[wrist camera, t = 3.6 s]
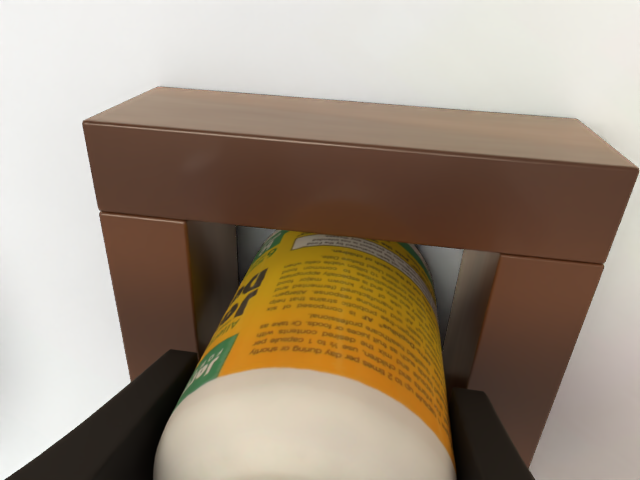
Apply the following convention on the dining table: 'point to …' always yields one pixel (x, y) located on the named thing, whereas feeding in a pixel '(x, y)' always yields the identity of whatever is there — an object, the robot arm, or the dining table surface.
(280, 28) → the dining table surface
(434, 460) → the supplement bottle
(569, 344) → the holder
